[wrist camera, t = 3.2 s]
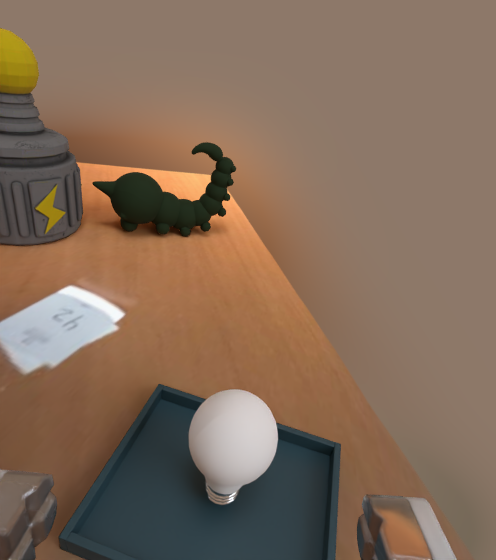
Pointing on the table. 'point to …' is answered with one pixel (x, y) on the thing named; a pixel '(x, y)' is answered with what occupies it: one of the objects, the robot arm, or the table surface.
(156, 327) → the table surface
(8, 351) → the table surface
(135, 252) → the table surface
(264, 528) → the tray
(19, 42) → the decorative lamp
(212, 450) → the light bulb
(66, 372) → the table surface
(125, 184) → the toy figurine
